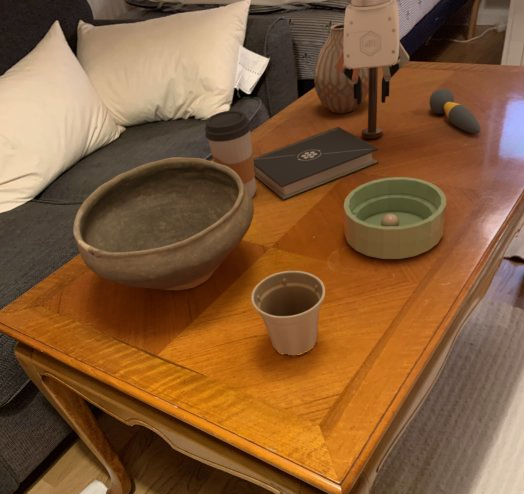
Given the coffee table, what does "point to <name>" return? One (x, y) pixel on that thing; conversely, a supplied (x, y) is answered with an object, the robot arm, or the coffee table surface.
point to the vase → (336, 76)
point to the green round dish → (404, 207)
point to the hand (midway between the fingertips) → (371, 100)
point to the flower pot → (290, 309)
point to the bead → (390, 220)
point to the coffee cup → (232, 144)
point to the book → (313, 162)
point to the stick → (372, 106)
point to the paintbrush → (454, 111)
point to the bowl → (164, 223)
